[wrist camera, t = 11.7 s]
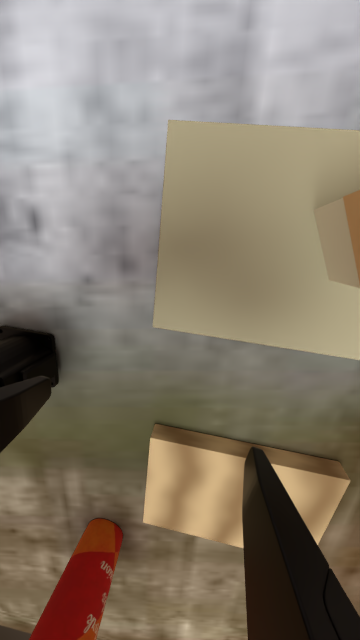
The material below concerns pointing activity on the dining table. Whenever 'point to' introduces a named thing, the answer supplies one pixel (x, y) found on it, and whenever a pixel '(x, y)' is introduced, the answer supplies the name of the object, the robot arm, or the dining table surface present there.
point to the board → (229, 484)
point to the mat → (255, 235)
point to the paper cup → (82, 586)
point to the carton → (341, 238)
